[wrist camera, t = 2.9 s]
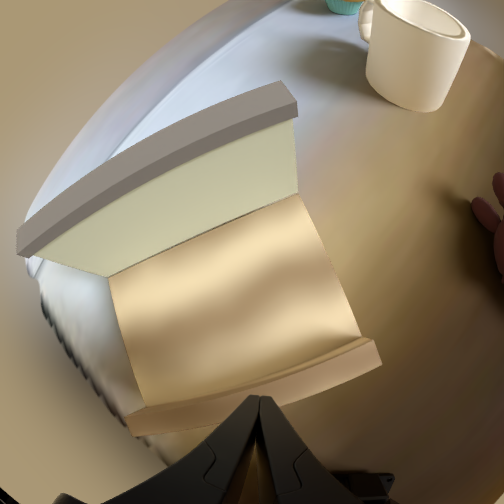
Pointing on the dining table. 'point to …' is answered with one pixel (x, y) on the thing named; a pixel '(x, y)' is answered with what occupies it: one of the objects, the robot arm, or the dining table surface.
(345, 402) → the dining table surface
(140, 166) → the panel
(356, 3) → the cupcake
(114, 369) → the dining table surface
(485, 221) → the icecream
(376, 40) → the mug
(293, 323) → the cream and gold block
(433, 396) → the dining table surface
